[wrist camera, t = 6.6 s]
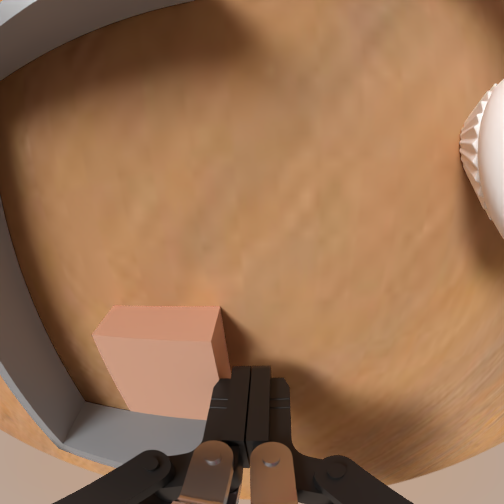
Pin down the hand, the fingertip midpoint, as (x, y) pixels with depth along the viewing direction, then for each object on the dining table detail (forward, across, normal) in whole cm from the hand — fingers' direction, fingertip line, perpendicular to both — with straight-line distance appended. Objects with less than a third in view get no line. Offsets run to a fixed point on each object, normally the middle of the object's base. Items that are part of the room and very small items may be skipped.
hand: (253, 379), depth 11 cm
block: (+2, +4, 0) cm, 4 cm away
